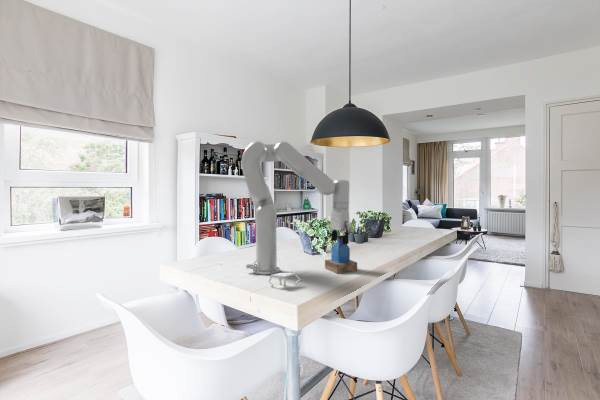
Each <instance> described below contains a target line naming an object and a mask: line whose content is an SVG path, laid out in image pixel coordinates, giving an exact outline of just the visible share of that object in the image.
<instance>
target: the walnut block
mask: <svg viewBox="0 0 600 400" xmlns="http://www.w3.org/2000/svg"><path fill="white" fill-rule="evenodd" d="M324 269H326V270H328V271H330V272H333V273H335V274H345V273H351V272H353V273H354V272H357V271H358V262H357V261H355V260H351V259H350V262H344V263H337V262H334V261H331V259H330V258H329V259H325V260H324Z"/></svg>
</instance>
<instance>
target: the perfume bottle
mask: <svg viewBox="0 0 600 400" xmlns="http://www.w3.org/2000/svg"><path fill="white" fill-rule="evenodd" d="M350 249H351V248H350V247H349V244H342V235H338V236H337V241H336V242H334V243H333V245H332V246H331V261H334V262H337V263H344V262H350V260H351V258H350V256H351V254H350V251H351V250H350Z"/></svg>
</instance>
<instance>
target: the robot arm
mask: <svg viewBox="0 0 600 400" xmlns="http://www.w3.org/2000/svg"><path fill="white" fill-rule="evenodd" d="M265 162H270V163H271V162H281V163H283V164H284V165H285V166H286V167H287V168H288V169H290V170H291V171H292V172H294V174H296V175H297V176H298V177H300V178H302V179H304V180H306V181H307V182H308V183H309V184H310V185H312V186H313V187H314V188H315V189H316V191H317V192H318V193H319V194H320V195H321V196H330V195H332V209H331V214H330V223H329V228H330V232H331V233H330V234H331V235H330V236H331V237H330V239H331V240H330V241H331V242H333V241H334V242H335V241H336V242H337V236H339V232H340V231H341V232H342V235H341V236H342V244H347V245H349V244H350V243H349V242H350V237H349V236H350V235H351V231H352V225H351V224H350V212H349V210H350V209H349V205H350V203H349V202H350V182H349V180H347V179H335V180H333V179H332V178H331V177H330V176H328V175H327V174H326V173H325V172H324V171H322V170H321V169H320V168H319V167H317V165H314V163H312V162H311V161H310V160H309V159H307V158H306V157H305V156H304V155H303V154H302V153H300V152H299V151H298V150H297V149H296V148H295V147H294V146H293V145H291V144H290V143H289V142H288V141H283V140H282V141H279V142H277V143H274V144H272V143H271V144H270V143H269V144H267V143H266V144H265V143H264V142H261V141H259V140H257V141H256V140H255V141H252V142H251V143H249V144H248V146H246V148H245V149H244V151H243V153H242V156H241V169H242V173H243V176H244V180H245V183H246V187H247V189H248V193H249V194H248V196H249V197H250V198H251V200H252V204H253V207H254V210H255V214H254V220H255V261H253V262H252V263H247V264H245V269H246V270H252V273H254V274H256V275H273V274H278V273H280V272H281V267H279V266H277V263H278V260H277V251H278V249H277V248H278V247H277V217H278V215H277V209H276V206H275V203H274V201H273V197H272V194H271V190H270V188H269V185H267V182H266V179H265V176H264V173H263V170H262V166H261V163H265ZM338 231H339V232H338Z"/></svg>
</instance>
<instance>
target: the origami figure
mask: <svg viewBox="0 0 600 400" xmlns="http://www.w3.org/2000/svg"><path fill="white" fill-rule="evenodd" d="M293 276H295V278H297V279H298V280H296V282H294V285H295V286H296V287H297V286H298V285H297V283H299V282H300V281H301V280H302V279H301V278H300V276H299V275H298V274H297V273H295V272H278V273H275V274H270V277H269V279H268V283H269V284H270V285H271V286H270V287H271V288H272V287H273V286H274V284H273V283H272V282H271V280H272V279H273V278H278V281H279V286H280V285H283V290H286V289H287V282H286V281H287V280H286V278H289V277H293ZM282 278H283V282H282Z"/></svg>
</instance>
